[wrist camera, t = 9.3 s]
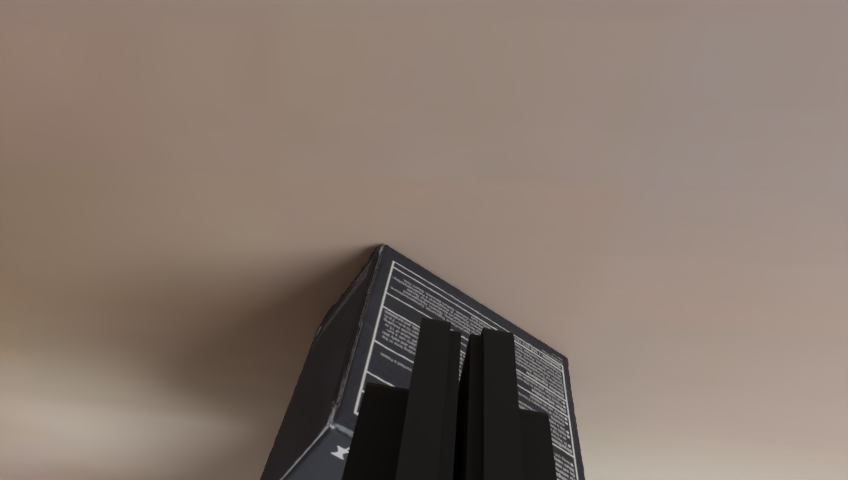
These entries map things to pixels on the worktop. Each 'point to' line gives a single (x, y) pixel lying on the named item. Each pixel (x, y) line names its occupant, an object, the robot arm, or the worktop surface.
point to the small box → (402, 367)
